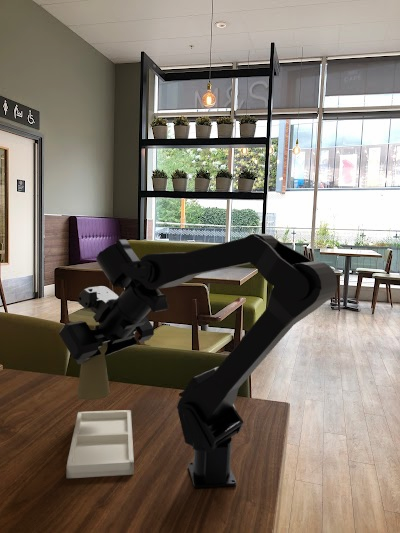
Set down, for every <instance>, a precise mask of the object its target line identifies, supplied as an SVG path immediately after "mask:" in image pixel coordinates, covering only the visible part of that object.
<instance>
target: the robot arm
mask: <svg viewBox="0 0 400 533" xmlns="http://www.w3.org/2000/svg"><path fill="white" fill-rule="evenodd" d="M95 260H96V263H97V265H98V266H99V267H100V270H102V272H103V273H104V274H105V276H106V278H107V279H108V281H109V282H110V284H111V285H112V287H114V288H120V289H121V288H122V289H123V291H122V292H121V294H120V295H118V294H117V293H115V292H114V291H113V290H111V289H110V288H109V287H107V286H104V285H99V286H98V285H97V286H89V287H87V288H84V289H83V290H82V291H80V293H79V294H78V295H79V296H78V298H77V303H78V304H79V305H80V306H81V307H83V308H84V309H85V310H87V309H89V310H91V312H93V313H94V315H93V317H92V318H93V319H94V321H95V323H99V324H97V325H95V326H94V330H92V329H91V328H90V326H89V324H88V323H87V321H83V320H78V321H72V322H67V323H65V324H64V325H63V326H62V328H60V331H59V333H58V335H59V336H60V338H61V340H62V342H63V343H64V345H65V346H66V348H67V350H68V352H69V353H70V355H71V357H72V359H74V360H75V361H76V363H77V365H81V363H83V362H85V361H88V360H90V359H92V358H94V357H97V356H99V355H101V352H100V351H99V347H101V346H102V345H103V343H105V342H107V351H106V352H105V357H107V356H109V355H111V354H114V353H116V352H119V351H122V350H124V349H127V348H130V347H133V346H136V345H137V343H142V342H147V341H149V340H151V338H152V337H153V336H154V334H155V327H154V326H153V325H152V323H151V322H150V320H149V319H148V317H147V316H148V314H149V313H150V311H151V312H152V313H156V312H162V311H167V310H168V309H169V303H168V301H167V297H168V295H167V294H166V293H165V294H164V293H162V292H161V291H160V289H165V288H172V287H177V286H180V285H182V284H184V283H187V282H189V281H191V280H193V279H194V278H195V277H197V276H200V275H202V274H207V273H211V272H217V271H221V270H225V269H231V268H236V267H240V266H241V267H242V266H247V265H250V264H251V265H252V266H254V267H255V268H256V269H257V271H258V272H259V273H260V275H261V276H262V278H264V280H265V281H266V282H268V283H269V284H270V285H271V286H272V289H271V291H270V293H269V295H268V301H267V303H266V304H267V305H266V308H265V309H264V311H263V313H261V315H259V317H258V319H257V320H256V321H255V322H254V324H253V325H252V326H251V327H250V328H249V329H248V331H247V332H246V333H245V334H244V336H243V337H242V338H241V339H240V340H239V342H237V344H236V345H235V346H234V348H233V349H232V350H231V351H230V353H229V354H227V356H226V357H225V359H224V360H223V361H222V362H221V363H220V365H219V366H217V367H218V368H217V370H216V371H215V369H214V368H212V369H210V370H207V371H204V372H202V373H201V374H198V375H196V376H193V377H192V378H191V379H190V381H189V382H188V383H187V386H186V388H185V389H184V390H183V391H181V392H179V393H178V397H180V398H179V400H178V401H177V405H176V409H177V414H178V417H179V422H180V427H181V431H182V434H183V438H184V439H183V440H184V442H185V444H187V445H189V446H191V447H192V449H193V461H190V462H188V463H187V467H188V470H189V473H190V477H191V482H192V485H193V487H194V488H195V489H204V488H219V487H232V486H233V487H234V486H237V480H236V477H235V475H234V472H233V470H232V468H231V458H232V457H231V456H232V440H233V439H232V437H234V436H235V435H236V434H239V433H240V432H241V430H242V427H243V425H244V421H243V418H242V417H241V416H240V414H239V412H238V411H237V409H236V407H235V408H234V407H233V404H234V405H235V402H236V400H237V396H238V392H239V388H240V387H241V386H242V385H243V384H244V383H245V381H247V379H248V378H249V377H250V375H252V373H253V372H254V371H255V370H256V369H257V367H258V366H259V365H260V364H261V363H262V362H263V361H264V360H265V358H266V357H267V356H268V355H269V354H270V353H271V352H272V351H273V349H274V348H276V346H277V345H278V343H280V341H281V340H282V339H283V338H284V337H285V336H286V335H287V333H289V331H290V330H291V329H292V328H293V327H294V326H295V325H296V324H297V323H298V322H300V321H301V320H303V319H305V318H306V317H308V316H309V315H311V314H312V313H314V312H315V311H316V310H317V309H318V308H320V307H321V306H323V305H324V304H325V303H327V301H329V300H330V299H332V298H333V297H334V296H335V294H336V292H337V290H338V287H339V286H338V278H337V275H336V273H335V272H336V271H334V269H333V268H332V267H331V266H330V265H328V264H327V263H325V262H322V261H316V260H315V261H313V260H312V259H310V258H309V257H308V256H306V255H304V254H302V253H301V252H299V251H297V250H296V249H293V248H291V247H289V246H288V245H287V244H285V243H282V241H280V240H278V239H277V238H275V237H274V236H273V235H272V234H268V233H251V234H249V235H247V236H246V237H243V238H238V239H234V240H231V241H230V240H229V241H227V242H222V243H218V244H214V245H210V246H206V247H202V248H201V247H200V248H198V249H193V250H190V251H186V252H163V253H162V252H159V253H146V254H144V255H143V256H141V258H140V259H139V257H138V256H137V255H136V253H135V251H134V250H133V249H132V247H131V244H130V243H129V241H128V240H127V239H117V240H116V241H115V243H113V244H111V245H109V246H107V247H106V248H104V249H103V250H101V251H99V253H97V256H96V259H95ZM135 333H138V334H139V336H138V337H137V340H136V338H135V336H136V334H135ZM137 341H139V342H137ZM235 409H236V410H235Z"/></svg>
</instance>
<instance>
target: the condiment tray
mask: <svg viewBox="0 0 400 533" xmlns="http://www.w3.org/2000/svg"><path fill="white" fill-rule="evenodd" d="M132 426H133V425H132V410H131V409H125V410H119V409H118V410H95V411H92V410H91V411H77V416H76V421H75V425H74V430H73V434H72V439H71V444H70V447H69V448H70V449H69V454H68V457H67V463H66V479H79V478H80V479H81V478H95V477H113V476H131V475H134V469H135V465H134V464H135V461H134V460H135V459H134V445H133V444H134V443H133V427H132Z"/></svg>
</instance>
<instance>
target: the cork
mask: <svg viewBox="0 0 400 533" xmlns="http://www.w3.org/2000/svg"><path fill="white" fill-rule="evenodd" d="M99 351H100V352H101V355H99V356H97V357H94V358H92V359H90V360H88V361H85V362H83V363H81V364H80V371H79V378H78V386H77V395H76V397H77V398H79V399H81V400H87V401H96V400H102V399H104V398H106V397H108V396H110V394H111V393H110V384H109V377H108V371H107V361H106V356H105V352H106V351H107V342H105V343H103V345H102V346H101V347H99Z"/></svg>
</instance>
